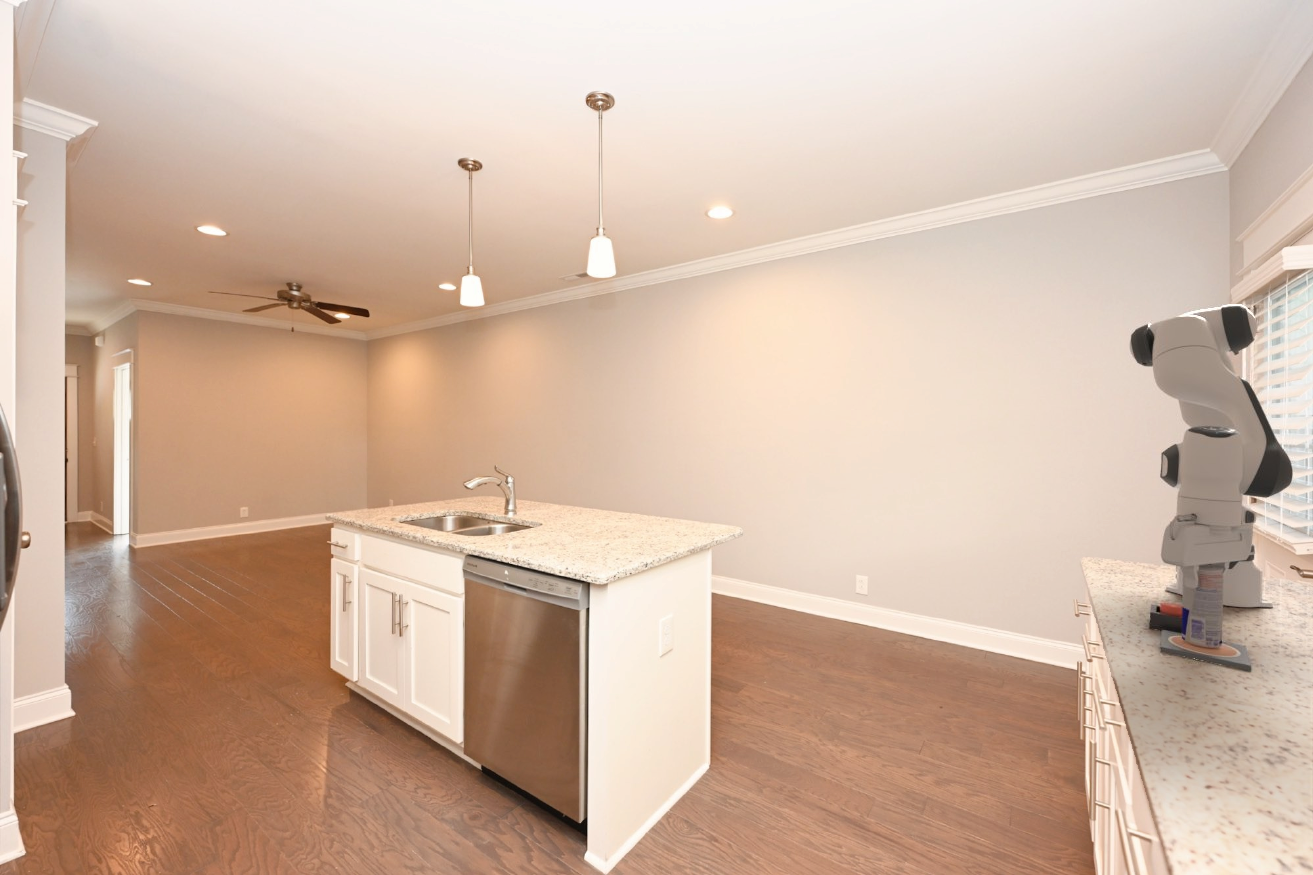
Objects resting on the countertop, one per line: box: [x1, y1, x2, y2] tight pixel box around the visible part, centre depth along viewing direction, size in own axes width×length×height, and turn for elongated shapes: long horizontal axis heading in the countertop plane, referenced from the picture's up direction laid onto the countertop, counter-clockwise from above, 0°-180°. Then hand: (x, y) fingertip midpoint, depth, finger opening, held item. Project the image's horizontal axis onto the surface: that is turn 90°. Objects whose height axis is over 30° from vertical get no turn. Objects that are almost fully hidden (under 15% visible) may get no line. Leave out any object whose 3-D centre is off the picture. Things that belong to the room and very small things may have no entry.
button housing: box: [1149, 603, 1182, 633], centre depth 122 cm, size 7×7×4 cm
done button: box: [1159, 602, 1182, 617], centre depth 121 cm, size 4×4×2 cm
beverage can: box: [1181, 564, 1224, 648], centre depth 110 cm, size 6×6×15 cm
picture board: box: [1159, 630, 1252, 672], centre depth 110 cm, size 12×12×1 cm
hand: (1203, 585), depth 109 cm, fingers closed on beverage can, 5 cm apart
